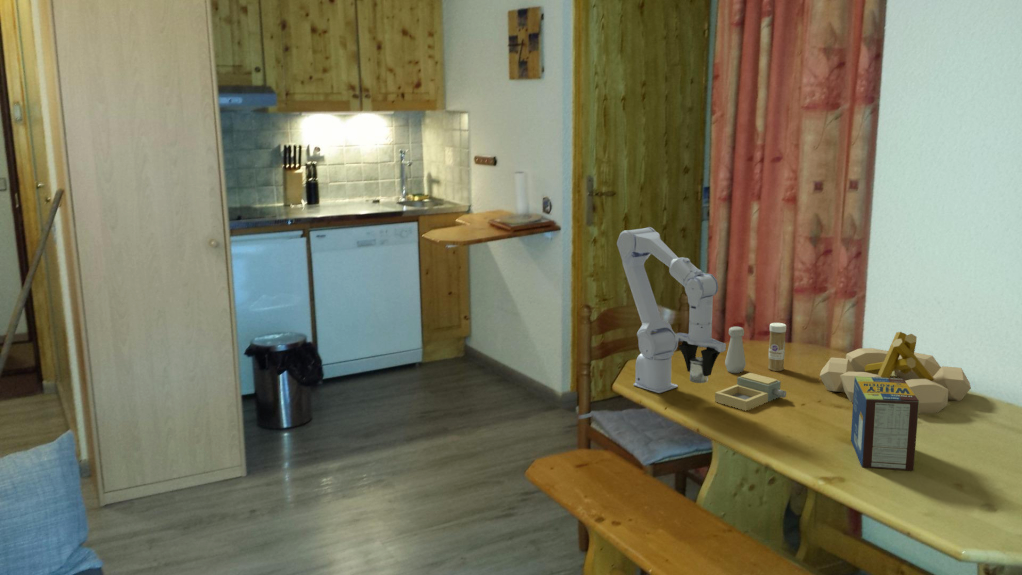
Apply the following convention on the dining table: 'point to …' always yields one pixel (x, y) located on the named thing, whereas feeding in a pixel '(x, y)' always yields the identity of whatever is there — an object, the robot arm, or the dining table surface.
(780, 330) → the sprinkles bottle
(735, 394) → the drawer
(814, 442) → the dining table surface
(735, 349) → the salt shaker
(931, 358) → the campfire
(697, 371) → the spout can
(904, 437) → the protein box
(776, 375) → the dining table surface
